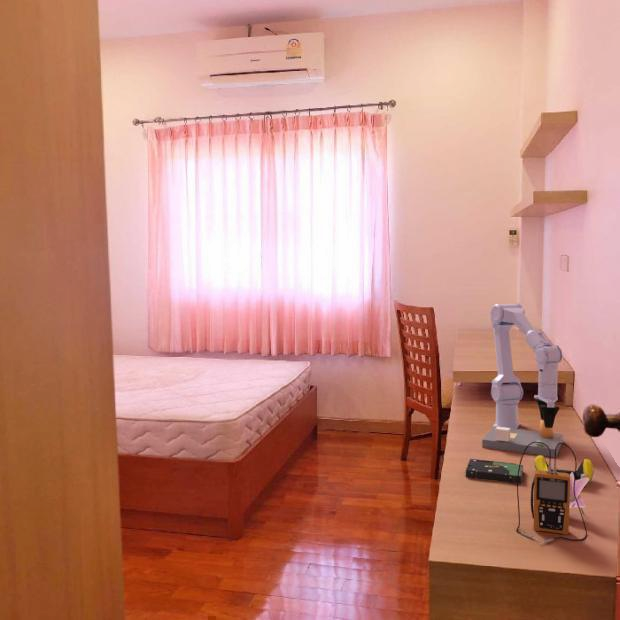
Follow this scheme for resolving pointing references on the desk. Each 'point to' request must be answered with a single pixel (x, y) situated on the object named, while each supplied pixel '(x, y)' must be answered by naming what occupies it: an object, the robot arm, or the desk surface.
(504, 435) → the lever
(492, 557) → the desk surface
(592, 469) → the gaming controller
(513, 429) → the panel
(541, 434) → the cap
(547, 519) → the multimeter
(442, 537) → the desk surface
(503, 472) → the disk drive
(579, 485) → the lily
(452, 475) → the desk surface
